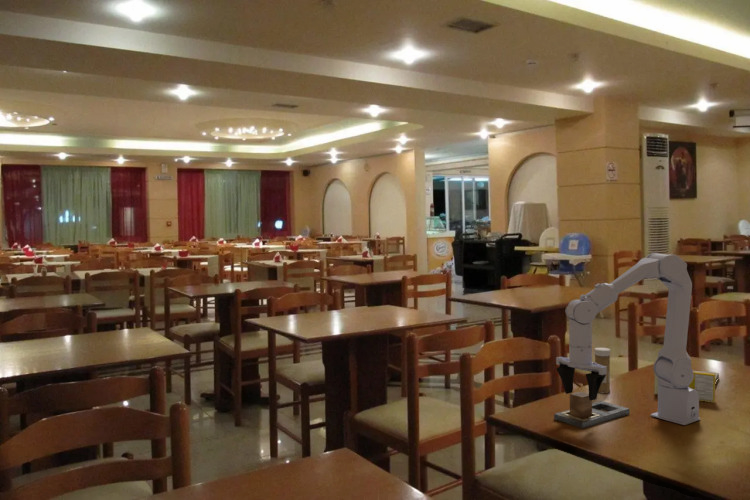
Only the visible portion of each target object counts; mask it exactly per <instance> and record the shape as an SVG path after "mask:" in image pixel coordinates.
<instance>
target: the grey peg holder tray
mask: <svg viewBox="0 0 750 500" xmlns="http://www.w3.org/2000/svg"><path fill="white" fill-rule="evenodd" d="M603 410H604V411H603ZM627 415H630V408H628V407H625V406H622V405H619V404H618V405H617V404H614V403H610V402H607V401H603V400H599V401H595V402H592V417H588V418H585V419H581V418H577V417H574V416H571V415H570V409H567V410H563V411H560V412H555V413H554V414H553V419H554V420H555V421H558V422H560V423H563V424H567V425H570V426H574V427H576V428H578V429H582V430H583V429H585V428H589V427H593V426H596V425H598V424H602V423H605V422H608V421H611V420H615V419H618V418H620V417H624V416H627Z"/></svg>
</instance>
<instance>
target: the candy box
mask: <svg viewBox="0 0 750 500" xmlns="http://www.w3.org/2000/svg"><path fill="white" fill-rule="evenodd" d="M702 372H703V371H702ZM702 372H701V371H700V372H693V373H694V377H693V380H692V382H691V383H690V384H689V388H691V389H694V390H696V391H697V392H698V395H699V402H703V401H705V403H710V402H711V404H715V403H716V385H715V374H710V373H702ZM653 390H654V395H657V396H658V377H657V376H656V375H655V374H654V389H653Z"/></svg>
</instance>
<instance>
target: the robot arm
mask: <svg viewBox="0 0 750 500" xmlns="http://www.w3.org/2000/svg"><path fill="white" fill-rule="evenodd" d="M687 267H688V263H687V262H685V260H683V259H682V258H681V257H680V256H679V255H676V254H667V253H666V254H664V253H660V252H653V253H652V252H651V253H649V254H647V256H646V257H643V258H641V259H640V260H639V261H638V262H636V264H635V265H633V266H632V267H630V268H629V269H628V270H626V271H625V272H624V273H622V274H621V275H619V276H618V277H617V278H616V279H614V280H613V281H611V282H610V283H607V282H602V283H599V282H598V283H596V284H595V285H594V288H593V289H592V290H590V291H589V292H587V293H586V294H581V295H580V296H579V299H572V300H571V301H569V302H568V304H567V306H566V308H565V315H566V317H567V318H568V320H569V321H568V323H569V325H568V327H569V328H568V343H569V344H568V345H569V346H568V347H569V349H568V352H569V353H568V354H569V355H568V357H565V356H564V357H563V356H556V358H555V362H556V366H557V365H558V367H556V372H557V373H558V375H559V377H560V379H561V382H562V386H563V387H564V392H565V394H566V395H570V394H571V393H573V389H574V376H575V371H576V369H578V370H582V371H586V372H589V373H586V374H585V377H586V380H587V386H588V394H589V400H591V401H592V402H593V401H595V400H597V397H598V395H599V393H598V391H599V388H600V385H601V383H602V381H603V380H604V378H605V377H606V374H607V367H606V366H602V365H599V364H597V363H595V361H594V362H593V327H592V326H593V324H592V323H593V322H594V320H595V319H596V317H597V314H599V313H600V312H602V311H604V310H605V309H606V308H608V307H609V306H611V305H612V304H614V303H615V302H617V301H618V298H619V297H618V296H619V294H620V293H623V292H624V291H626V290H627V289H629V288H631V287H632V286H634V285H635V284H637V283H639V282H640V281H642V280H644V279H657V280H659V281H660V282H661V283H662V284H663V285H664V286H665V287H666V288H667V289H668V296H667V305H666V314H665V315H666V317H665V327H664V335H663V336H664V337H663V346H662V348H660V350H659V351H658V352H657V358H656V360H654V363H653V366H652V367H653V369H652V370H653V372H654V376H655V375H656V376H657V377H658V395H657V411H656V412H653V413H650V417H653V418H658V419H661V420H664V421H668V422H670V423H675V424H679V425H683V426H686V425H689V424H691V423H694V422H698V421H701V417H700V401H699V395H698V392H697V391H696V390H694V389H691V388H689V384H690V383H691V382H692V380H693V377H694V373H693V371H694V369H693V368H692V359H691V357H690V354H688V352H687V343H688V332H689V323H690V322H689V321H690V312H691V311H690V310H691V302H692V293H693V291H692V290H693V282H692V279H691V277H690V275H689V272H688V268H687Z"/></svg>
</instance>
